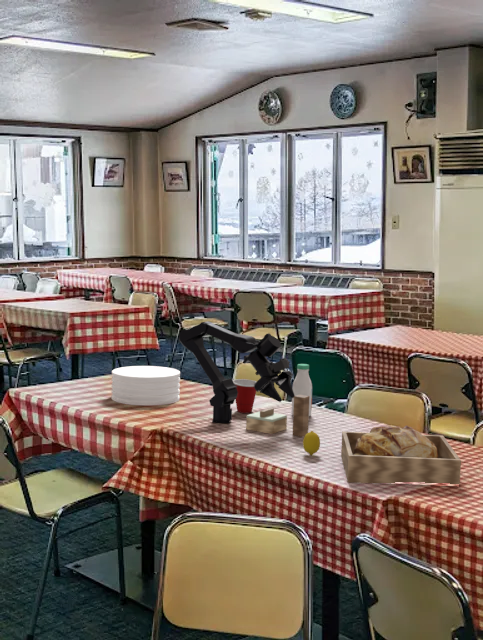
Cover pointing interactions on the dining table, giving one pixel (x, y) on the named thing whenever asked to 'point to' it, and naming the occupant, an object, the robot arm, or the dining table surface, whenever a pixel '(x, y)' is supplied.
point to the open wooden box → (266, 425)
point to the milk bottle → (302, 385)
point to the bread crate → (400, 464)
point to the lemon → (311, 443)
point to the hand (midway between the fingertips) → (287, 399)
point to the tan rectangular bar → (300, 415)
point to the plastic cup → (245, 395)
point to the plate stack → (145, 385)
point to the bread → (395, 443)
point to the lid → (267, 415)
